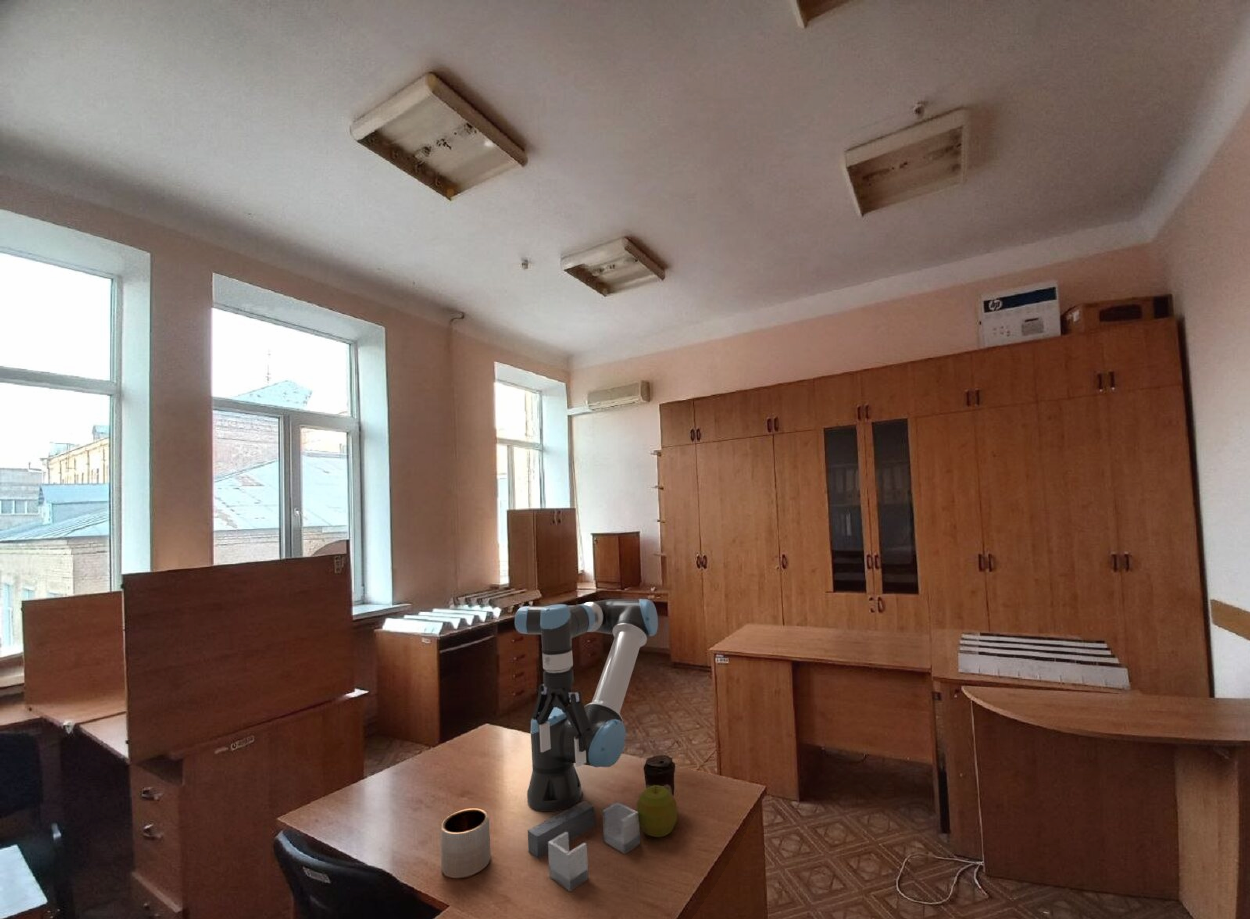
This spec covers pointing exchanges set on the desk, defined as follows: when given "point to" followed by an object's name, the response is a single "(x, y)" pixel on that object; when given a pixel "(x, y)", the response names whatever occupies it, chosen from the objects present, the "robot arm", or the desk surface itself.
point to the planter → (465, 842)
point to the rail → (561, 827)
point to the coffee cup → (660, 772)
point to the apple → (657, 811)
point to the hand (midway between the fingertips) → (562, 757)
